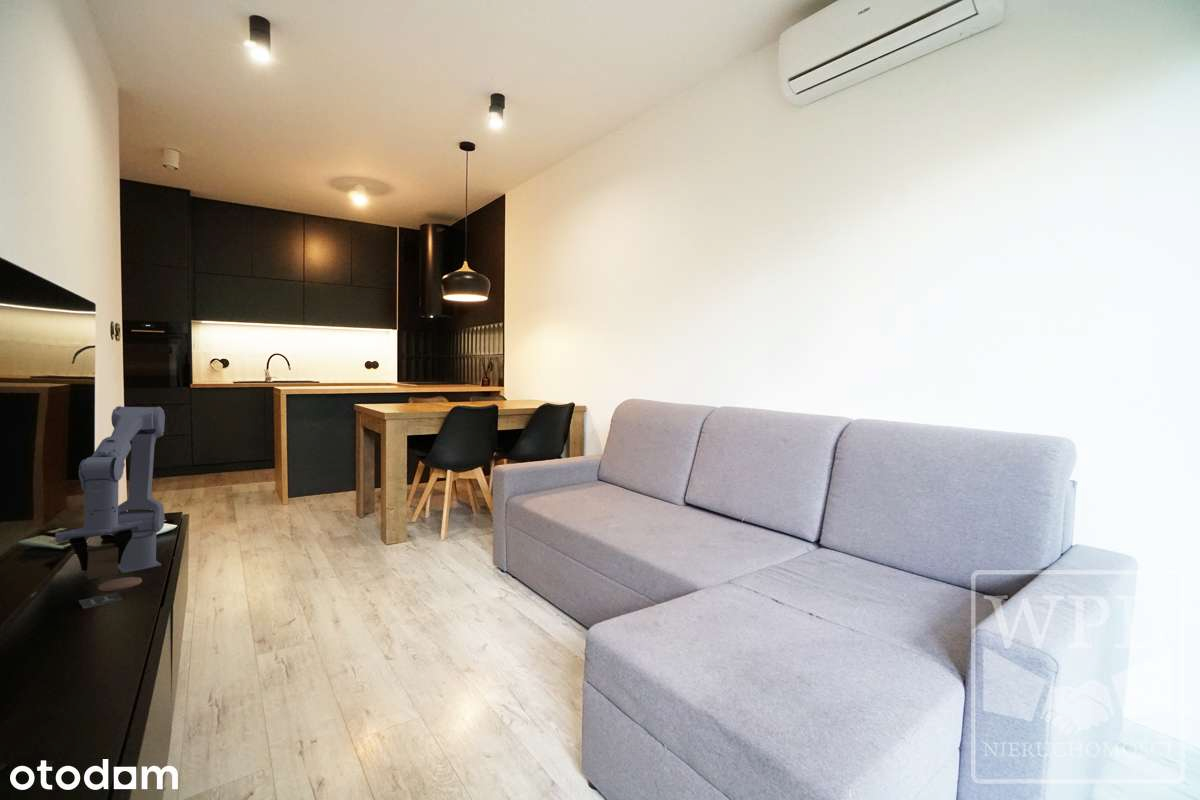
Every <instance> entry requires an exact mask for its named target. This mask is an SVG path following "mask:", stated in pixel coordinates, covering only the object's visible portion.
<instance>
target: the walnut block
mask: <svg viewBox="0 0 1200 800" xmlns="http://www.w3.org/2000/svg"><path fill="white" fill-rule="evenodd" d="M86 558H87V570H86V571H83V575H84V576H85V577H86V579H87V580H92V579H97V578H102V577H107V576H108V577H109V576H113V575H117V574H119V569H118V547H117V546H116V545H115V542H114V543H107V544H101V545H96V546H90V547H89V546H87V554H86Z"/></svg>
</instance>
